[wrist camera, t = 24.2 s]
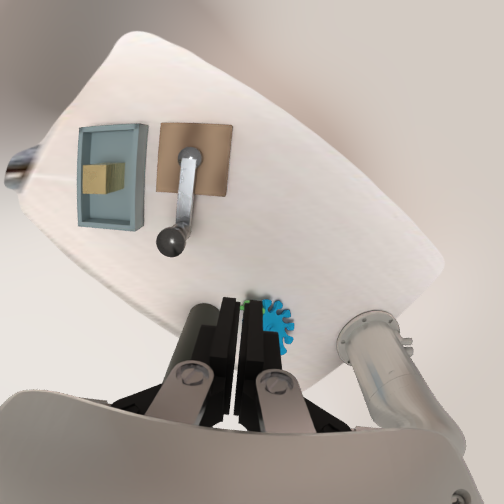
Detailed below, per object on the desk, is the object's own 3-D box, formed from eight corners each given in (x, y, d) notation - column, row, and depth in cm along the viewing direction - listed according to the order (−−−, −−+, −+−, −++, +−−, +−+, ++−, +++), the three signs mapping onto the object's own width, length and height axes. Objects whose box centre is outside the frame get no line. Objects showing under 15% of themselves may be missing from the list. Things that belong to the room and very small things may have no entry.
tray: (148, 125, 38) (139, 123, 34) (143, 225, 43) (135, 231, 40) (90, 128, 38) (79, 127, 34) (89, 221, 43) (78, 226, 39)
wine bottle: (227, 312, 47) (199, 476, 19) (214, 336, 49) (182, 491, 21) (196, 297, 47) (137, 454, 18) (184, 323, 48) (129, 472, 20)
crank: (180, 146, 37) (164, 144, 30) (205, 148, 37) (194, 147, 30) (171, 238, 41) (155, 254, 34) (195, 242, 41) (183, 259, 34)
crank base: (232, 126, 38) (231, 125, 36) (226, 194, 41) (224, 196, 39) (165, 124, 38) (160, 122, 36) (160, 189, 41) (155, 191, 39)
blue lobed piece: (305, 335, 47) (267, 375, 41) (283, 333, 52) (246, 369, 46) (275, 280, 45) (230, 318, 40) (254, 284, 50) (211, 317, 45)
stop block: (125, 162, 39) (106, 164, 33) (124, 188, 40) (105, 194, 34) (103, 162, 39) (82, 165, 33) (102, 187, 40) (82, 193, 34)
